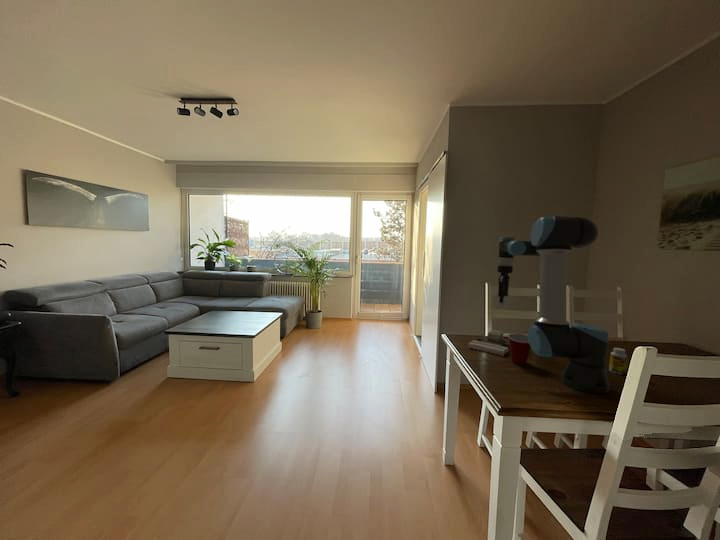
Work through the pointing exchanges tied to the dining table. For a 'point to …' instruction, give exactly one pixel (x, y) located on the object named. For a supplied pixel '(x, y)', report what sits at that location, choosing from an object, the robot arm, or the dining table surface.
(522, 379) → the dining table surface
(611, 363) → the supplement bottle
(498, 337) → the sage block
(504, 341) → the trap deck
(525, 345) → the plastic cup
